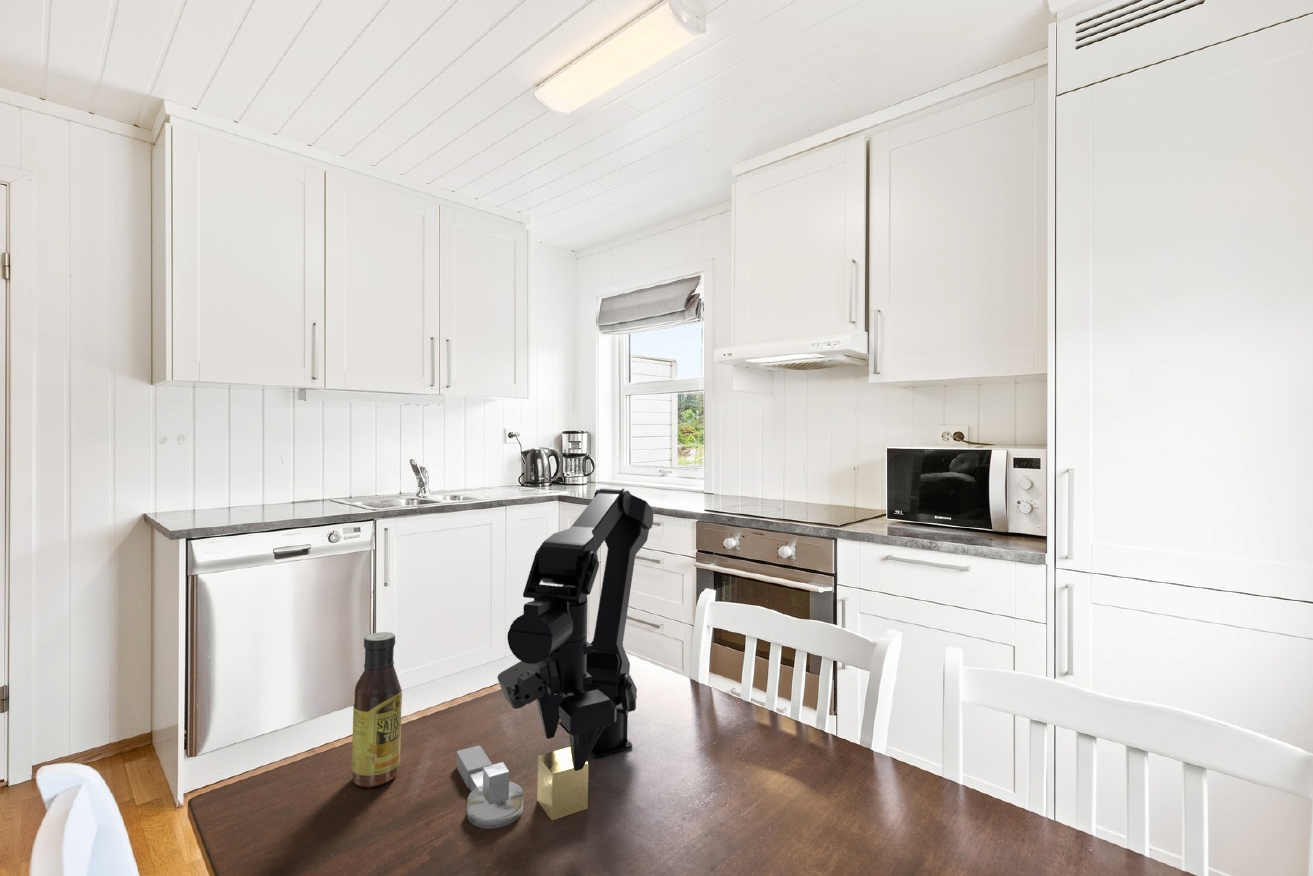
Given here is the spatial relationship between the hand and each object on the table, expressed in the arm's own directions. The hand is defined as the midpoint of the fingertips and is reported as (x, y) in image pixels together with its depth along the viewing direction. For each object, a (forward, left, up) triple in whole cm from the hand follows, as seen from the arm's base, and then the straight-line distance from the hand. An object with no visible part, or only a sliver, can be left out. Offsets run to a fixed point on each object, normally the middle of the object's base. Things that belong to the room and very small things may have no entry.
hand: (563, 753), depth 83 cm
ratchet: (+8, -8, -7) cm, 13 cm away
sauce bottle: (+20, -19, -7) cm, 28 cm away
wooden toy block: (0, 0, -7) cm, 7 cm away
